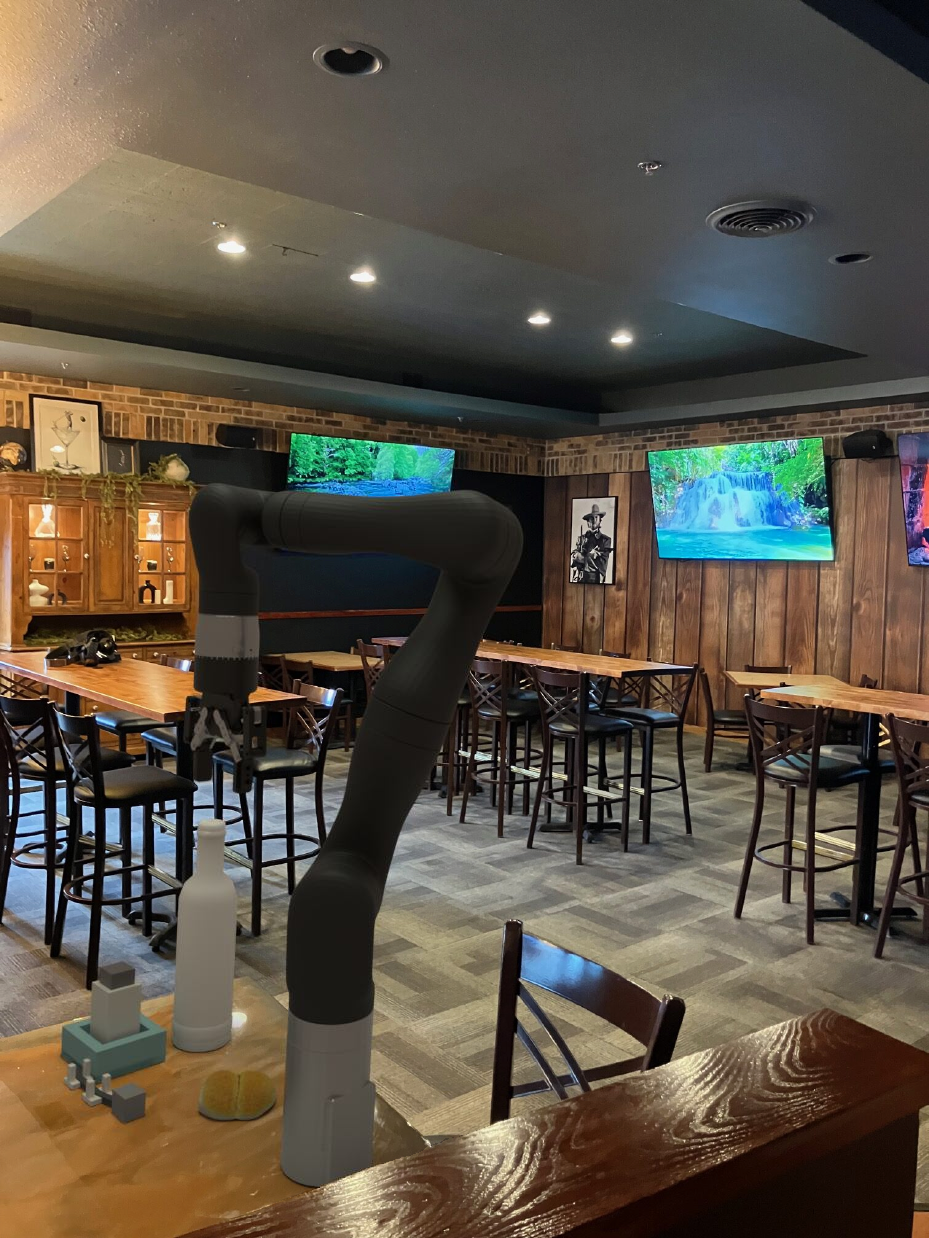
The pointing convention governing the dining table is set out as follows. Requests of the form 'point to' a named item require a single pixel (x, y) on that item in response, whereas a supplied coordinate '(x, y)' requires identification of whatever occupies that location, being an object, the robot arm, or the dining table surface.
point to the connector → (115, 1003)
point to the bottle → (205, 948)
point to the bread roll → (236, 1095)
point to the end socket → (114, 1049)
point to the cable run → (107, 1093)
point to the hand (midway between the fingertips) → (221, 786)
